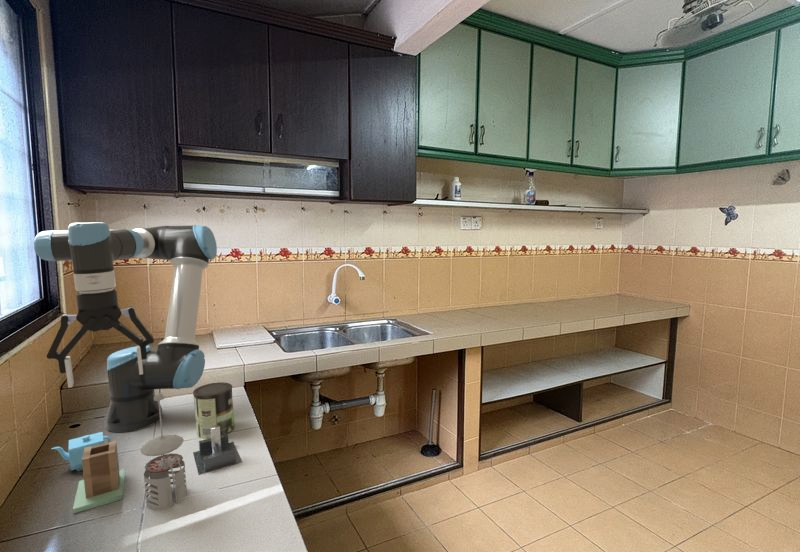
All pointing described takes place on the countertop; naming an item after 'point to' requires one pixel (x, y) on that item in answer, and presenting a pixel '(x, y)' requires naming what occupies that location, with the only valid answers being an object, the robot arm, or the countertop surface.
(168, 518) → the countertop surface
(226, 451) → the peg stand
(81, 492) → the board
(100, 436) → the teapot
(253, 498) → the countertop surface
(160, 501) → the french press
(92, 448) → the sleeve
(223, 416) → the coffee can
